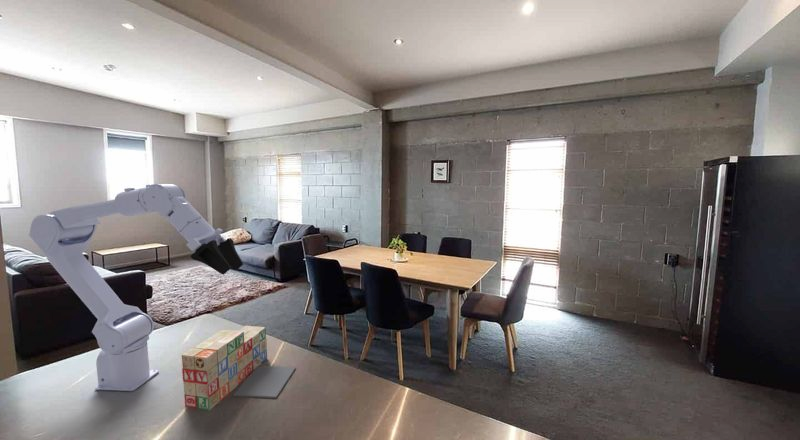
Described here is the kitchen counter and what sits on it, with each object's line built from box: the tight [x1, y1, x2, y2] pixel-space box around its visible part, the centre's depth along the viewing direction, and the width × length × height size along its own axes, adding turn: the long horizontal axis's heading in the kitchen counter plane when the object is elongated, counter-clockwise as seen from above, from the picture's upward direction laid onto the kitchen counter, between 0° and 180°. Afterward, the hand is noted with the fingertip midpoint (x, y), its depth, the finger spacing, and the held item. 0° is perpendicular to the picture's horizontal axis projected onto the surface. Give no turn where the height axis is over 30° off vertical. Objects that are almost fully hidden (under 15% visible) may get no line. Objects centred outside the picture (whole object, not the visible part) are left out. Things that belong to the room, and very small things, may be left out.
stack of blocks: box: [181, 325, 268, 411], centre depth 80 cm, size 21×6×12 cm, turn 169°
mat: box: [233, 365, 297, 399], centre depth 80 cm, size 10×12×1 cm
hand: (233, 269), depth 75 cm, fingers open, 7 cm apart
